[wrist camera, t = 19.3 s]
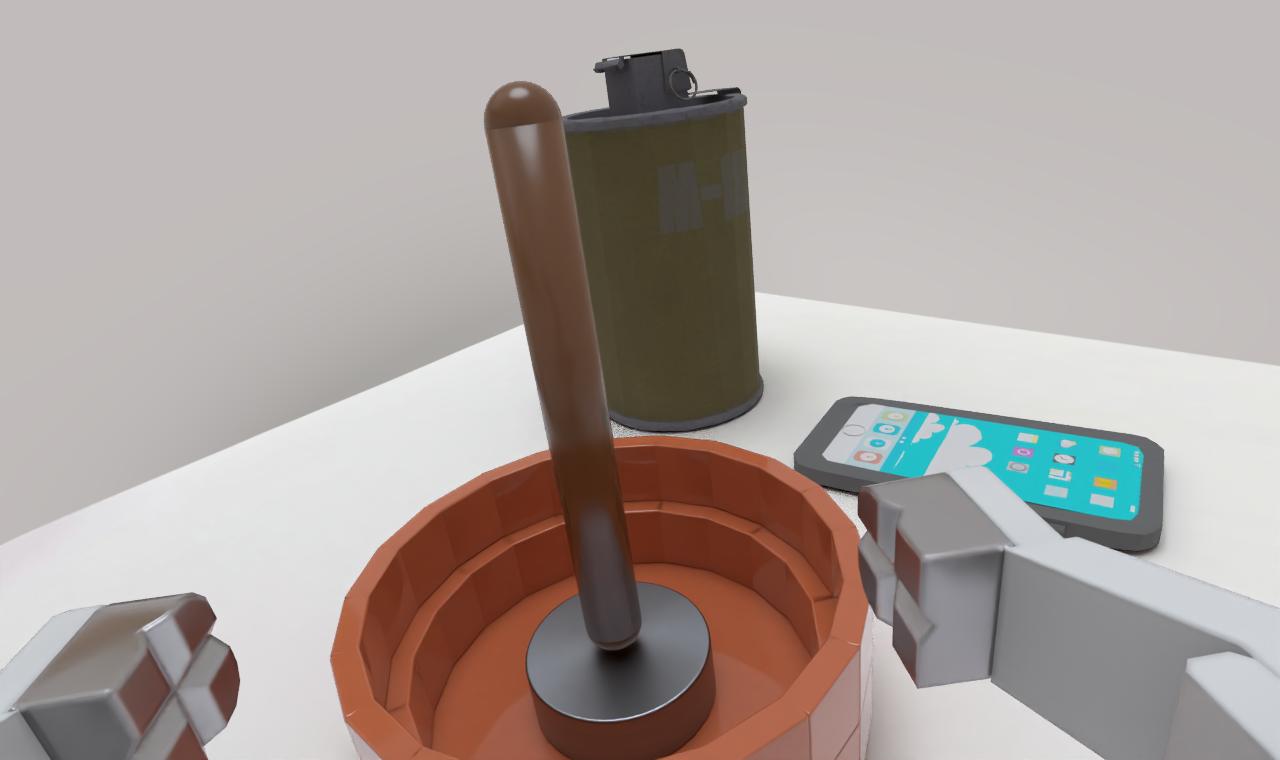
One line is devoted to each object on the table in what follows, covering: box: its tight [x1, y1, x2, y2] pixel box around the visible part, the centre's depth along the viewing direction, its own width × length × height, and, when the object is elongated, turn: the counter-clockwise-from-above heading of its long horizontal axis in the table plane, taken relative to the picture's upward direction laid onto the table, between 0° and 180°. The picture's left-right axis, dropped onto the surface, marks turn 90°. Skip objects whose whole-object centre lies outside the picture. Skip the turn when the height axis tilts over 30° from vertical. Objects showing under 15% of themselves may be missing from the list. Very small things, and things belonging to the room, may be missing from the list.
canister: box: [562, 49, 764, 431], centre depth 42 cm, size 11×10×20 cm
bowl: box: [330, 436, 873, 760], centre depth 23 cm, size 16×16×6 cm
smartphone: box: [794, 397, 1164, 551], centre depth 34 cm, size 9×1×15 cm
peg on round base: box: [484, 81, 716, 760], centre depth 20 cm, size 6×6×19 cm
